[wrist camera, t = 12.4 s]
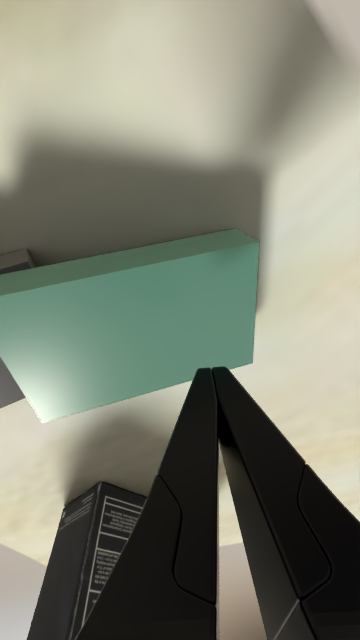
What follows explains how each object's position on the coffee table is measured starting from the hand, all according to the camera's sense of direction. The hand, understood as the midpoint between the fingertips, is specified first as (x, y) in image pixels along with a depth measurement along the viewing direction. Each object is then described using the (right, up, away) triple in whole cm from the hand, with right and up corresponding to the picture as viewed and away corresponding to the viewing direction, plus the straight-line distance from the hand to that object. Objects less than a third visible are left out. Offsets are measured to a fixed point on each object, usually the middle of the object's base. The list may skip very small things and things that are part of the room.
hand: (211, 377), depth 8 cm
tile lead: (+2, +2, +3) cm, 5 cm away
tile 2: (-6, +2, +4) cm, 7 cm away
